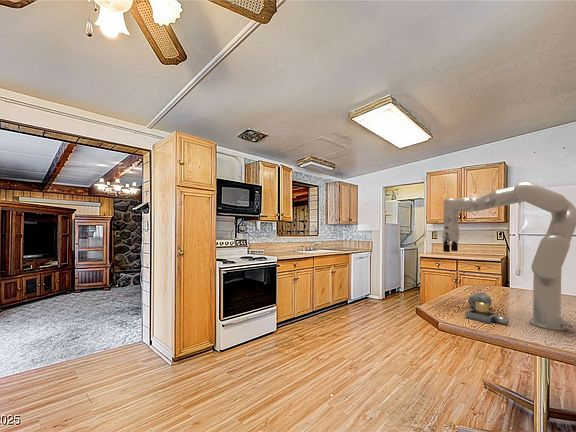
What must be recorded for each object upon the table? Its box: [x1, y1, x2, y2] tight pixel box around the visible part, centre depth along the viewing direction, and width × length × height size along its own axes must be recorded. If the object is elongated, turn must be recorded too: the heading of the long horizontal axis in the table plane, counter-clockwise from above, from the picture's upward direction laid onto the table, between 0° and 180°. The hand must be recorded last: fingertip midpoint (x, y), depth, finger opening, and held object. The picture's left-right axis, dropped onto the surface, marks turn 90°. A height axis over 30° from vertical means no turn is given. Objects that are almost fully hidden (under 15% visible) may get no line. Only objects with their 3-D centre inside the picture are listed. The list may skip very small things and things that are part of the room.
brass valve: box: [476, 299, 490, 317], centre depth 141 cm, size 5×5×8 cm
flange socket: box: [465, 308, 510, 326], centre depth 139 cm, size 16×10×3 cm
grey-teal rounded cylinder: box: [467, 292, 492, 309], centre depth 160 cm, size 14×10×10 cm
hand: (450, 251), depth 163 cm, fingers open, 9 cm apart
